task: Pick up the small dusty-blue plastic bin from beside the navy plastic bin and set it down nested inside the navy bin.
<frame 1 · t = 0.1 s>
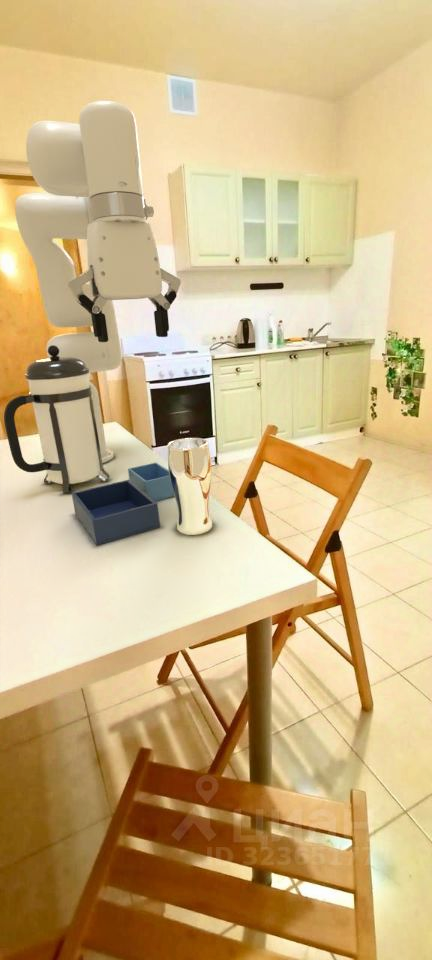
hand: (133, 339, 70), 31 cm above the table, tool pointing down, fingers open, 9 cm apart
small bin: (153, 491, 94), on the table
big bin: (116, 520, 81), on the table
coffee press: (73, 484, 101), on the table
beer glass: (194, 528, 77), on the table
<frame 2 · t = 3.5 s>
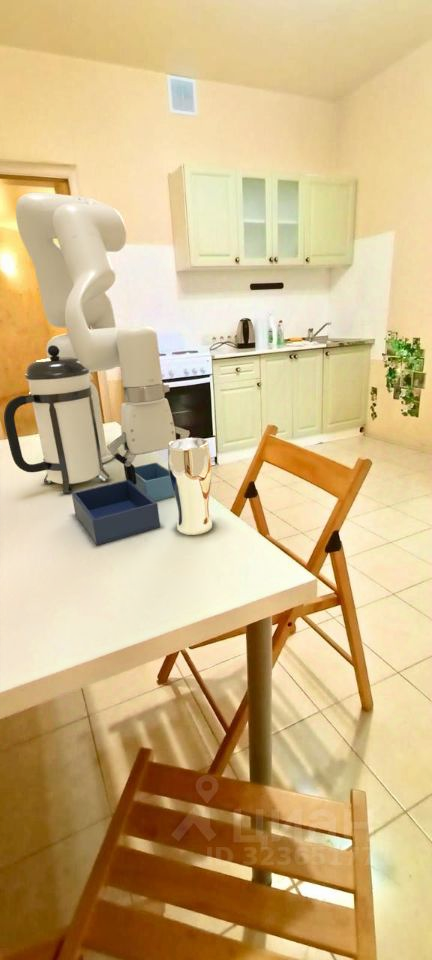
hand: (154, 477, 92), 3 cm above the table, tool pointing down, fingers open, 9 cm apart
nothing on the table moved.
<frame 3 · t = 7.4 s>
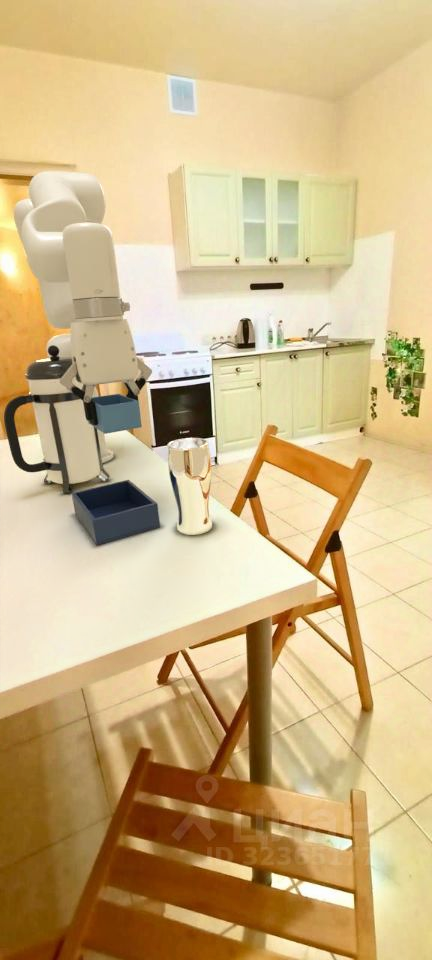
hand: (113, 419, 78), 18 cm above the table, tool pointing down, fingers closed on small bin, 6 cm apart
small bin: (114, 425, 79), point 17 cm above the table, touching gripper
everything else where it was.
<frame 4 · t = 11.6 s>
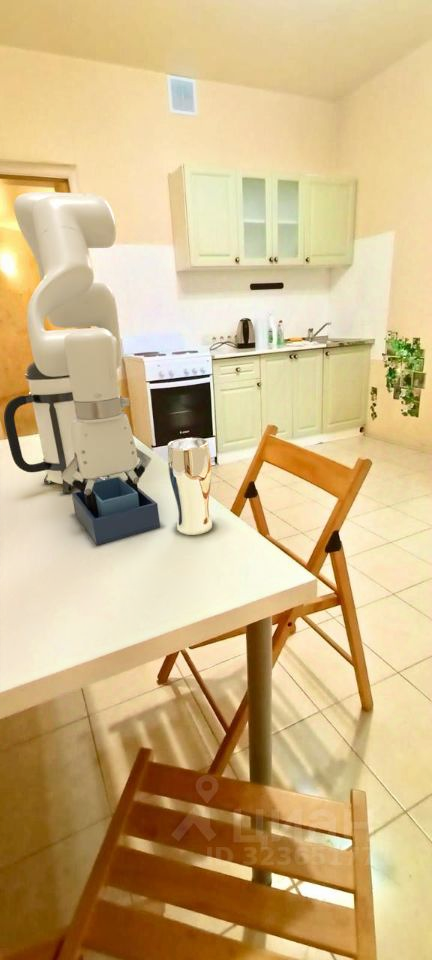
hand: (113, 506, 80), 3 cm above the table, tool pointing down, fingers closed on small bin, 6 cm apart
small bin: (114, 511, 81), point 2 cm above the table, touching gripper
everything else where it was.
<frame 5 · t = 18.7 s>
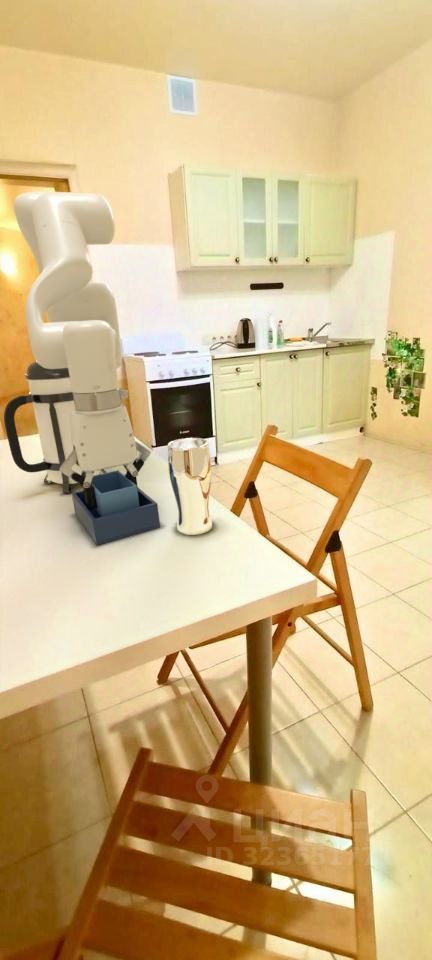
hand: (112, 500, 80), 4 cm above the table, tool pointing down, fingers closed on small bin, 6 cm apart
small bin: (113, 504, 81), point 3 cm above the table, touching gripper
everything else where it was.
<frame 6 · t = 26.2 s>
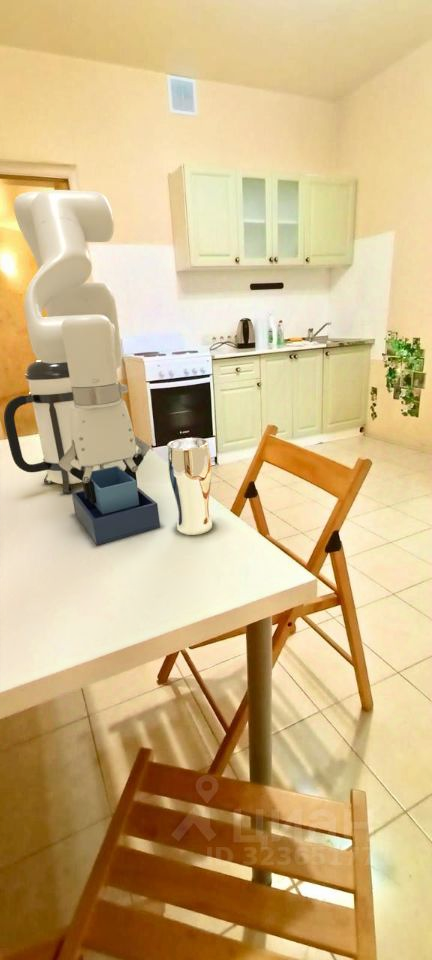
hand: (112, 495, 80), 5 cm above the table, tool pointing down, fingers closed on small bin, 6 cm apart
small bin: (112, 500, 80), point 4 cm above the table, touching gripper
everything else where it was.
when the fingers open (6 cm above the table, at t = 33.3 s): small bin drops 4 cm, resting on big bin.
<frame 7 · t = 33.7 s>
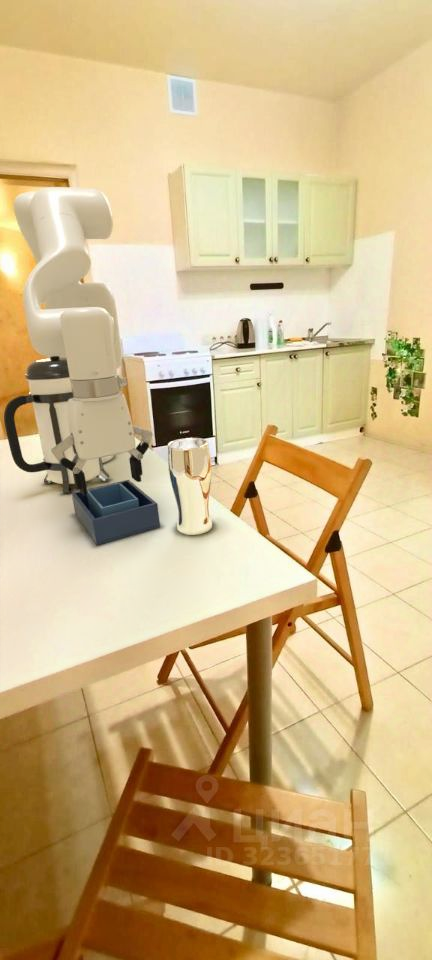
hand: (110, 485, 79), 7 cm above the table, tool pointing down, fingers open, 9 cm apart
small bin: (114, 517, 82), resting on big bin
everything else where it was.
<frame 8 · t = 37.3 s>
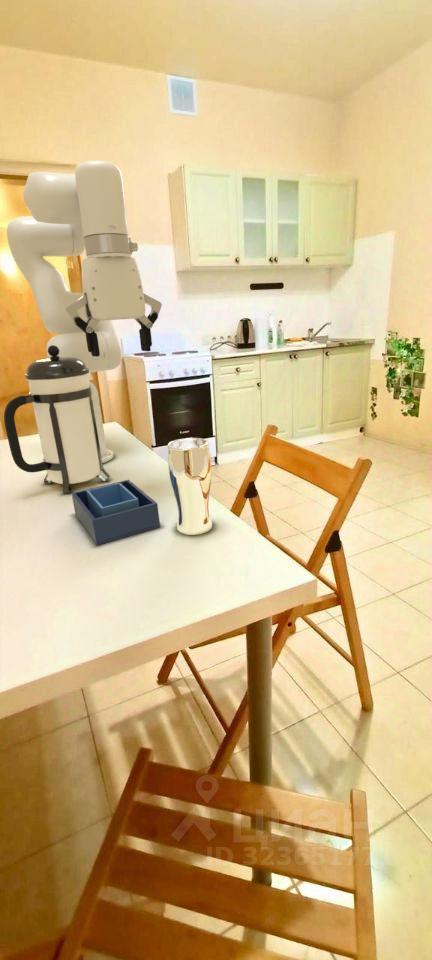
hand: (121, 353, 82), 28 cm above the table, tool pointing down, fingers open, 9 cm apart
nothing on the table moved.
at the end: small bin 0.4 cm off-centre in the big bin, point 0.5 cm above the big bin's base; small bin tilted 0°; the gripper is holding nothing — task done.
